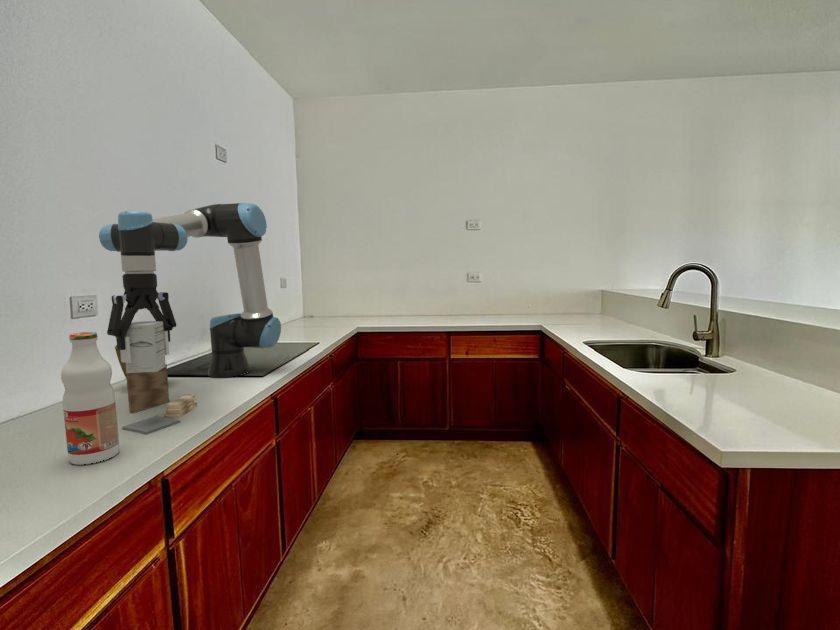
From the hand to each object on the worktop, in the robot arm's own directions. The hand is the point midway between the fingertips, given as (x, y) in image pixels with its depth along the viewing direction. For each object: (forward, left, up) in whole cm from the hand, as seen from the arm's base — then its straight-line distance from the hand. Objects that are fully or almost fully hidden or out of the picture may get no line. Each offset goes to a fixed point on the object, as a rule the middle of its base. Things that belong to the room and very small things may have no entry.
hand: (146, 358), depth 120 cm
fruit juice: (+18, +7, -19) cm, 27 cm away
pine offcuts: (-11, -3, -19) cm, 22 cm away
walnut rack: (-11, -16, -18) cm, 26 cm away
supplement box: (0, 0, -3) cm, 3 cm away
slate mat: (0, 0, -18) cm, 18 cm away
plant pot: (-24, -37, -19) cm, 48 cm away
